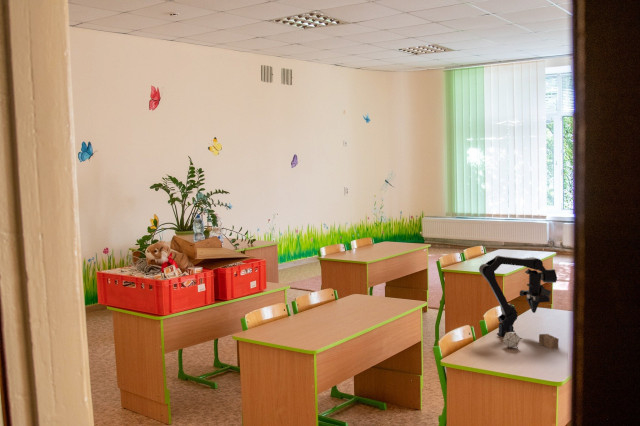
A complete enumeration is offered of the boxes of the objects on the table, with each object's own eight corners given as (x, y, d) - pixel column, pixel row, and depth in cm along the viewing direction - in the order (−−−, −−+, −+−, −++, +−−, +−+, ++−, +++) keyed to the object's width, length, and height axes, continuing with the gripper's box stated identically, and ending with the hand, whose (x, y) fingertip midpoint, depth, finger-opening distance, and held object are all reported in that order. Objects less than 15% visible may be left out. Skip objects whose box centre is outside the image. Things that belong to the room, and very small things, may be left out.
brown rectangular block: (538, 343, 287) (549, 348, 279) (539, 334, 287) (550, 339, 278) (547, 342, 288) (558, 348, 280) (547, 333, 288) (558, 338, 279)
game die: (514, 356, 278) (523, 343, 272) (497, 349, 279) (505, 335, 273) (516, 343, 285) (525, 330, 278) (499, 336, 286) (507, 322, 280)
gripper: (559, 285, 292) (559, 316, 293) (538, 279, 311) (537, 308, 312) (539, 285, 290) (539, 317, 291) (519, 279, 308) (518, 308, 309)
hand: (533, 312), depth 301 cm, fingers closed
